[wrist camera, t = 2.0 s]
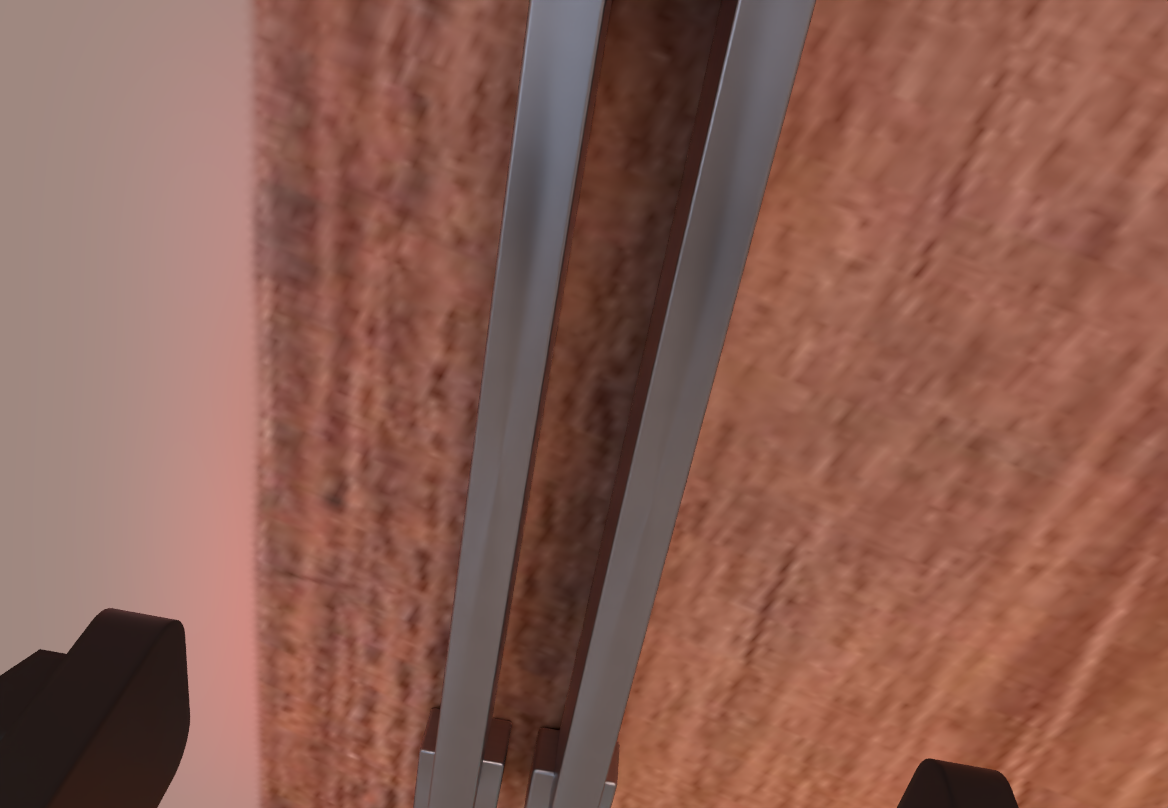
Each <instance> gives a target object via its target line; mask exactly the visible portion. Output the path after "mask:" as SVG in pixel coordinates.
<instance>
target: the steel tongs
mask: <svg viewBox="0 0 1168 808" xmlns="http://www.w3.org/2000/svg"><path fill="white" fill-rule="evenodd" d="M815 3H816V0H722V2H721V6H720V11H719V15H718V20H717V24H716V29H715V33H714V38H713V42H712V47H711V51H710V56H709V60H708V65H707V69H706V74H705V78H704V83H703V87H702V92H701V96H700V101H699V105H698V110H697V114H696V119H695V123H694V128H693V132H692V137H691V141H690V146H689V150H688V155H687V159H686V164H685V168H684V173H683V177H682V182H681V186H680V191H679V195H678V200H677V204H676V209H675V213H674V218H673V222H672V227H671V231H670V236H669V240H668V245H667V249H666V254H665V258H664V263H663V267H662V272H661V276H660V281H659V285H658V290H657V294H656V299H655V303H654V308H653V312H652V317H651V321H650V326H649V330H648V335H647V339H646V344H645V348H644V353H643V357H642V362H641V366H640V371H639V375H638V380H637V385H636V389H635V394H634V398H633V403H632V407H631V412H630V416H629V421H628V425H627V430H626V434H625V439H624V443H623V448H622V452H621V457H620V461H619V466H618V470H617V475H616V479H615V484H614V488H613V493H612V497H611V502H610V506H609V511H608V515H607V520H606V524H605V529H604V533H603V538H602V542H601V547H600V551H599V556H598V560H597V565H596V569H595V574H594V578H593V583H592V587H591V592H590V596H589V601H588V605H587V610H586V614H585V619H584V623H583V628H582V632H581V637H580V641H579V646H578V650H577V655H576V659H575V664H574V668H573V673H572V677H571V682H570V686H569V691H568V695H567V700H566V704H565V709H564V713H563V718H562V722H561V727H560V730H554V729H549V728H541V729H540V730H539V732H538V737H537V741H536V746H535V751H534V756H533V761H532V766H531V771H530V776H529V780H528V785H527V792H526V798H525V805H524V808H611V805H612V802H613V798H614V795H615V791H616V787H617V780H618V763H619V746H620V745H619V742H618V741H617V738H618V735H619V731H620V727H621V724H622V720H623V716H624V712H625V709H626V705H627V701H628V698H629V694H630V690H631V686H632V683H633V679H634V675H635V672H636V668H637V664H638V660H639V657H640V653H641V649H642V646H643V642H644V638H645V634H646V631H647V627H648V623H649V620H650V616H651V612H652V608H653V605H654V601H655V597H656V594H657V590H658V586H659V582H660V579H661V575H662V571H663V568H664V564H665V560H666V556H667V553H668V549H669V545H670V542H671V538H672V534H673V530H674V527H675V523H676V519H677V516H678V512H679V508H680V504H681V501H682V497H683V493H684V490H685V486H686V482H687V478H688V475H689V471H690V467H691V464H692V460H693V456H694V452H695V449H696V445H697V441H698V438H699V434H700V430H701V426H702V423H703V419H704V415H705V412H706V408H707V404H708V400H709V397H710V393H711V389H712V386H713V382H714V378H715V374H716V371H717V367H718V363H719V360H720V356H721V352H722V348H723V345H724V341H725V337H726V334H727V330H728V326H729V322H730V319H731V315H732V311H733V308H734V304H735V300H736V296H737V293H738V289H739V285H740V282H741V278H742V274H743V270H744V267H745V263H746V259H747V256H748V252H749V248H750V244H751V241H752V237H753V233H754V230H755V226H756V222H757V218H758V215H759V211H760V207H761V204H762V200H763V196H764V192H765V189H766V185H767V181H768V178H769V174H770V170H771V166H772V163H773V159H774V155H775V152H776V148H777V144H778V140H779V137H780V133H781V129H782V126H783V122H784V118H785V114H786V111H787V107H788V103H789V100H790V96H791V92H792V88H793V85H794V81H795V77H796V74H797V70H798V66H799V62H800V59H801V55H802V51H803V48H804V44H805V40H806V36H807V33H808V29H809V25H810V22H811V18H812V14H813V10H814V7H815ZM611 5H612V0H529V7H528V15H527V23H526V31H525V38H524V46H523V54H522V62H521V70H520V78H519V86H518V94H517V102H516V110H515V118H514V126H513V134H512V142H511V150H510V158H509V166H508V174H507V182H506V190H505V197H504V205H503V213H502V221H501V229H500V237H499V245H498V253H497V261H496V269H495V277H494V285H493V293H492V301H491V309H490V317H489V325H488V333H487V341H486V349H485V356H484V364H483V372H482V380H481V388H480V396H479V404H478V412H477V420H476V428H475V436H474V444H473V452H472V460H471V468H470V476H469V484H468V492H467V500H466V507H465V515H464V523H463V531H462V539H461V547H460V555H459V563H458V571H457V579H456V587H455V595H454V603H453V611H452V619H451V627H450V635H449V643H448V651H447V659H446V666H445V674H444V682H443V690H442V698H441V706H440V709H438V708H432V710H431V711H430V715H429V719H428V722H427V726H426V729H425V733H424V737H423V740H422V744H421V747H420V752H419V761H418V770H417V778H416V787H415V796H414V805H413V807H414V808H497V804H498V798H499V793H500V787H501V782H502V776H503V771H504V765H505V760H506V754H507V749H508V743H509V738H510V733H511V727H512V724H511V722H510V721H506V720H500V719H495V718H492V716H493V710H494V704H495V698H496V692H497V686H498V680H499V674H500V668H501V662H502V656H503V650H504V644H505V638H506V632H507V626H508V620H509V615H510V609H511V603H512V597H513V591H514V585H515V579H516V573H517V567H518V561H519V555H520V549H521V543H522V537H523V531H524V525H525V519H526V513H527V507H528V501H529V495H530V489H531V483H532V477H533V471H534V465H535V459H536V453H537V447H538V441H539V435H540V429H541V423H542V417H543V411H544V405H545V399H546V393H547V387H548V381H549V375H550V369H551V363H552V357H553V351H554V345H555V339H556V334H557V328H558V322H559V316H560V310H561V304H562V298H563V292H564V286H565V280H566V274H567V268H568V262H569V256H570V250H571V244H572V238H573V232H574V226H575V220H576V214H577V208H578V202H579V196H580V190H581V184H582V178H583V172H584V166H585V160H586V154H587V148H588V142H589V136H590V130H591V124H592V118H593V112H594V106H595V100H596V94H597V88H598V82H599V76H600V70H601V64H602V59H603V53H604V47H605V41H606V35H607V29H608V23H609V17H610V11H611Z"/></svg>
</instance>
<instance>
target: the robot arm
mask: <svg viewBox="0 0 1168 808" xmlns="http://www.w3.org/2000/svg"><path fill="white" fill-rule="evenodd" d="M188 692H189V691H188V675H187V661H186V644H185V631H184V627H183V625H182V623H181V622H180V621H179V620H174V619H168V618H162V617H157V616H152V615H146V614H140V613H135V612H129V611H123V610H118V609H113V608H108V609H105V610H103V611H101V612H100V613H99V614H98V615H97V616H96V617H95V618H94V619H93V620H92V621H91V623H90V624H89V626H88V627H87V628H86V629H85V631H84V632H83V633H82V635H81V636H80V637H79V639H78V640H77V641H76V642H75V644H74V645H73V646H72V648H71V649H70V650H69V652H68V653H67V654H64V653H58V652H52V651H46V650H41V649H40V650H38V651H37V652H35V653H34V654H32V655H31V656H29V657H28V658H26V659H25V660H23V661H22V662H20V663H19V664H17V665H16V666H14V667H13V668H11V669H10V670H8V671H7V672H5V673H4V674H2V675H1V676H0V808H157V807H158V805H159V803H160V801H161V800H162V798H163V796H164V794H165V792H166V791H167V789H168V787H169V785H170V783H171V781H172V779H173V777H174V775H175V773H176V771H177V769H178V766H179V764H180V761H181V759H182V756H183V753H184V749H185V746H186V742H187V738H188V732H189V726H190V708H189V693H188ZM897 808H1018V805H1017V802H1016V800H1015V797H1014V794H1013V791H1012V789H1011V787H1010V784H1009V782H1008V781H1007V779H1006V778H1005V777H1004V775H1003V774H1002V773H1000V772H999V771H996V770H991V769H985V768H980V767H974V766H969V765H963V764H958V763H952V762H946V761H941V760H935V759H930V758H929V759H925V760H924V761H922V762H921V763H920V765H919V766H918V768H917V769H916V771H915V773H914V775H913V777H912V779H911V781H910V783H909V785H908V787H907V789H906V791H905V793H904V795H903V797H902V799H901V801H900V803H899V805H898V806H897Z"/></svg>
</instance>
